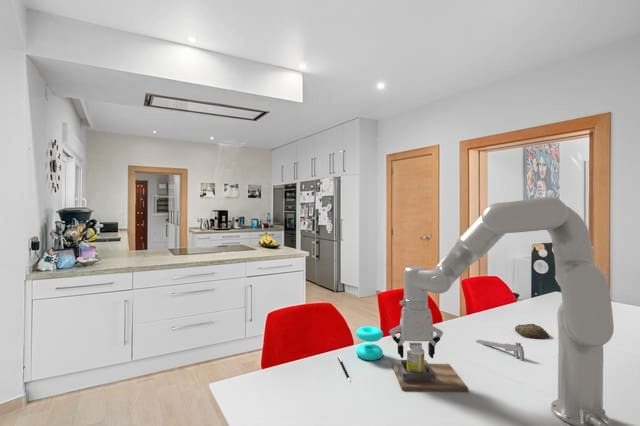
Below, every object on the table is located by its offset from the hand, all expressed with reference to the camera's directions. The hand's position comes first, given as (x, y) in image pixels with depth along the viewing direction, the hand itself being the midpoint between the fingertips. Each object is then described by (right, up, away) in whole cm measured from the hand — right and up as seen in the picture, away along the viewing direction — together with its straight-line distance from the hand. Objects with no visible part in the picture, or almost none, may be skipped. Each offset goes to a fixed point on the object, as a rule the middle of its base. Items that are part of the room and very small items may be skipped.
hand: (416, 356), depth 111 cm
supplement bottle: (0, -6, 0) cm, 6 cm away
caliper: (+39, -8, +23) cm, 46 cm away
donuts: (-13, -7, +17) cm, 23 cm away
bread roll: (+64, -8, +41) cm, 76 cm away
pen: (-23, -8, +7) cm, 25 cm away
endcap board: (+4, -7, 0) cm, 8 cm away
